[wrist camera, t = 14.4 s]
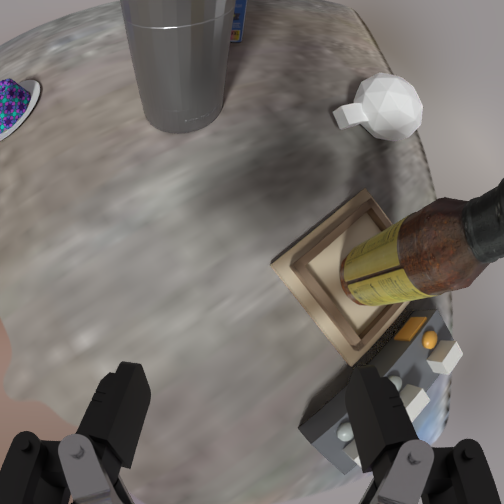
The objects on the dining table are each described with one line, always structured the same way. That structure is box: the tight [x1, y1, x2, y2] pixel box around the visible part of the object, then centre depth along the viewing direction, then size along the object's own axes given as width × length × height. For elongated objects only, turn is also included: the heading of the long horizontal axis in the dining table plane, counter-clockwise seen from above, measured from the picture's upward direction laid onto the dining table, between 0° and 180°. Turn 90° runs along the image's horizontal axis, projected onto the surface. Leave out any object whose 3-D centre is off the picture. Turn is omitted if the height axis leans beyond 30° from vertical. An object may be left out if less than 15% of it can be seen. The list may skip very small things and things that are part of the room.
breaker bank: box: [298, 309, 463, 475], centre depth 23 cm, size 6×18×6 cm, turn 129°
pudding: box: [0, 79, 40, 141], centre depth 24 cm, size 12×12×5 cm
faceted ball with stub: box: [333, 72, 423, 141], centre depth 28 cm, size 9×9×12 cm
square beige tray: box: [270, 188, 410, 367], centre depth 27 cm, size 13×14×2 cm
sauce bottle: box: [340, 178, 504, 306], centre depth 18 cm, size 7×6×20 cm
